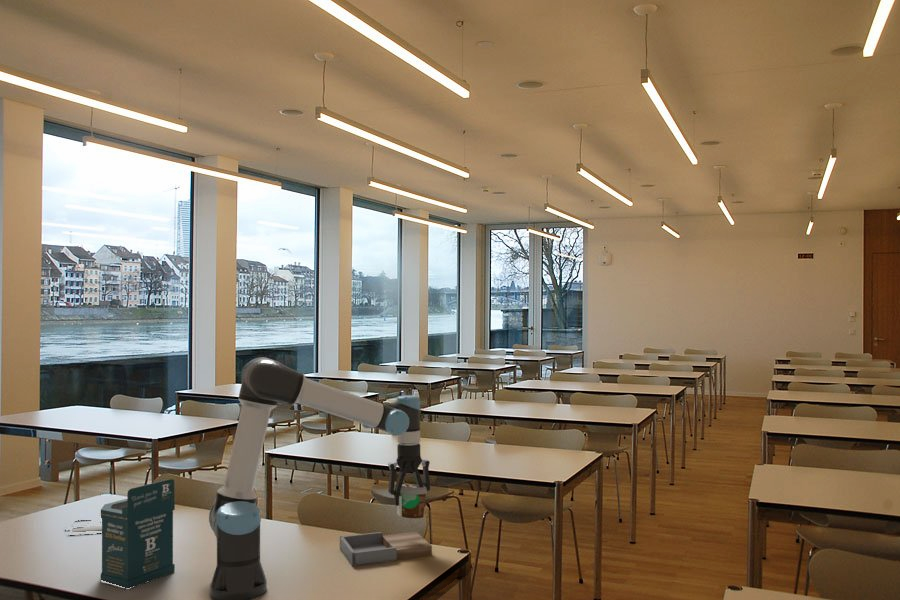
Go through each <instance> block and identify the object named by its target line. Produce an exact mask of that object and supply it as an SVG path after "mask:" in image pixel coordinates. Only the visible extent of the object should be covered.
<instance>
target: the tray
mask: <svg viewBox="0 0 900 600" xmlns="http://www.w3.org/2000/svg"><path fill="white" fill-rule="evenodd" d="M382 536H383V533H382V531H378V532H368V533H359V534H351V535H343V536H339V550H340V552H341V553H342V554H343V556H344V557H345V558H346V560H347V561H348V562H349V564H350V565H351V567H359V566H367V565H374V564H381V563H382V564H383V563H389V562H390V563H391V562H396V561H398V560H397V552H396V547H391V548H386V547H385V546H384V545H383V544H382Z"/></svg>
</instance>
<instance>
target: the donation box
mask: <svg viewBox="0 0 900 600" xmlns="http://www.w3.org/2000/svg"><path fill="white" fill-rule="evenodd" d="M175 503H176V502H175V479H173V478H170V479H163V480H160V481H157V482H156V481H155V482H152V483H147V484H144V485H140V486H136V487H132V488H129V489H128V490H127V498H125V499H121V500H116V501H112V502H109V503H104V505H103V506H102V507H101V509H100V515H101V518H102V534H101V573H100V581H101V580H103V581H106V582H109V583H112V584H116V585H119V586H122V587H125V588H130V587H133V586H136V587H138V586H137V585H139V584H142V583H144V584H146V583H145V582H147V581H149V582H152V581H154V580H153V579H155V580H157V579H156V578H158V579H160V578H163V577H165V576H167V575H171V574H173V573H175V570H176V569H175V568H176V566H175V563H174V511H175V510H176V509H175V505H176V504H175ZM151 580H152V581H151ZM147 583H148V582H147ZM142 585H143V584H142ZM139 586H140V585H139Z"/></svg>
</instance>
